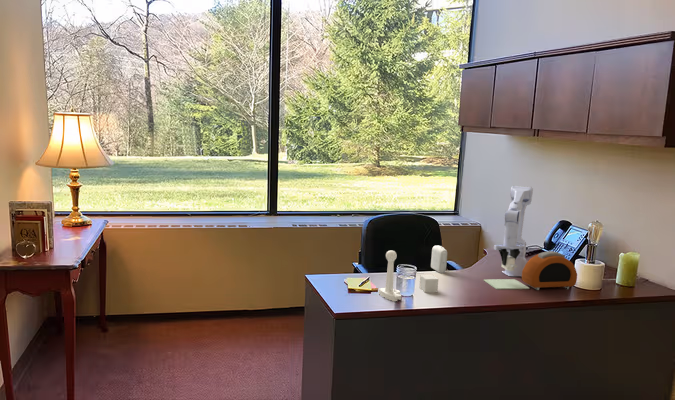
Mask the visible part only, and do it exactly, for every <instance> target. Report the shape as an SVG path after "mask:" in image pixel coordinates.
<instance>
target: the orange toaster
mask: <svg viewBox="0 0 675 400" xmlns="http://www.w3.org/2000/svg"><path fill="white" fill-rule="evenodd" d="M521 280H522V281H523V282H524V283H525V285H527V286H528V287H531V288H533V289H535V290H536V291H539V290H540V288H541V289H542V288H564V287H565V288H564V289H566V288H567V289H566V290H569V289H570V287H574V286H575V285H577V281H578V273H577V269H576V267H575V264H574V263H573V262H572V261H571V260H570V259H568V258H566V255H565V254H562V253H561V252H557V251H554V250H549V251H548V250H547V251H544V252H543V251H542V252H540V253H538V254H535V255H534V256H532V257H531V258H529V260H527V263H526V265H525V267H524V269H523V271H522V276H521Z"/></svg>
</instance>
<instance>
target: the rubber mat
mask: <svg viewBox="0 0 675 400" xmlns="http://www.w3.org/2000/svg"><path fill="white" fill-rule="evenodd" d="M483 281H484V282H485V283H487V284H488V285H489V286H491V287H492V288H494V289H495V290H530V286H528V285H526V284H524V283H522V282H521V281H519V280H517V279H515V278H510V279H509V278H508V279H507V278H504V279H502V278H499V279H497V278H496V279H493V278H492V279H490V278H489V279H483Z"/></svg>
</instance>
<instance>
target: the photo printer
mask: <svg viewBox="0 0 675 400" xmlns="http://www.w3.org/2000/svg"><path fill="white" fill-rule="evenodd" d="M447 262H448V251H447V249H445V247H443V246H442V245H434V246H433V247H432V249H431V259H430V268H431V269H433V270H435V272H437V273H440V274H444V273H447Z"/></svg>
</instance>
